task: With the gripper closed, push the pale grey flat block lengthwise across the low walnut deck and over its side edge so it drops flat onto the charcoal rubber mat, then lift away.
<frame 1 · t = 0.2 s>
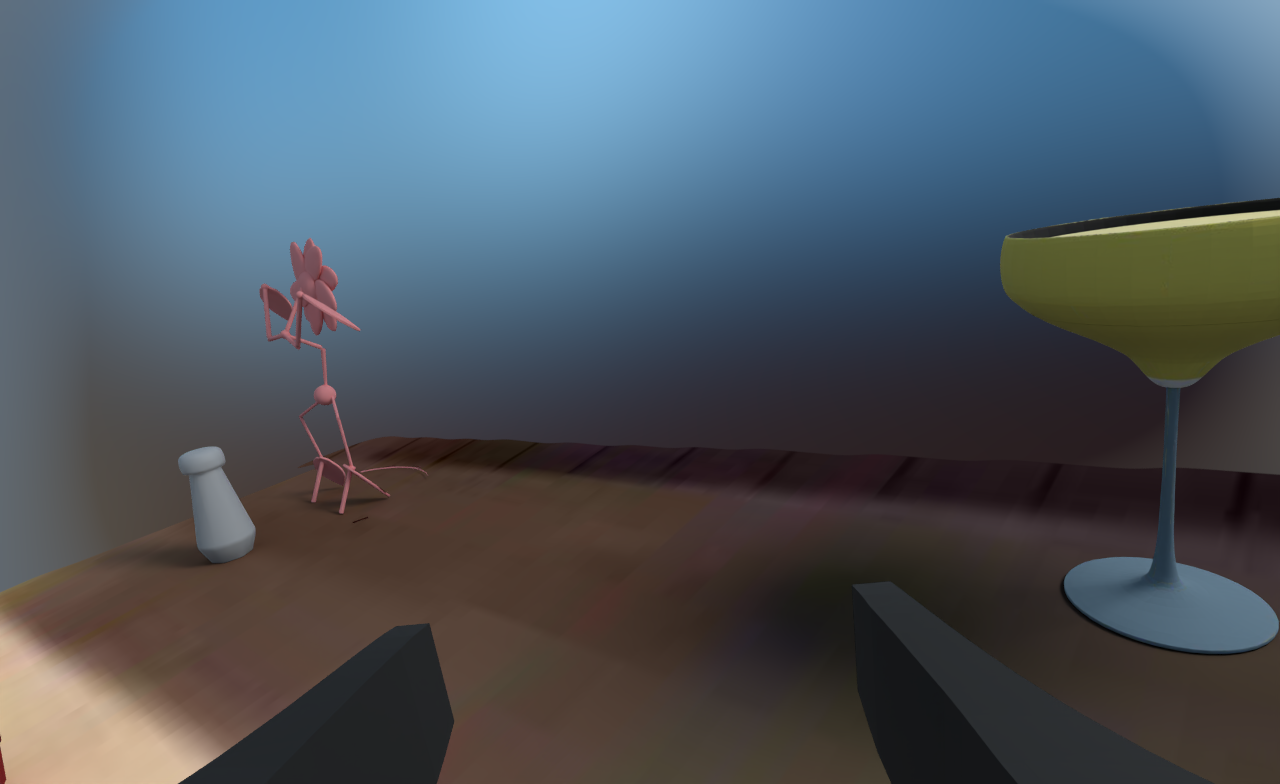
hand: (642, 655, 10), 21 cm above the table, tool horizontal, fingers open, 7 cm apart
cocktail glass: (1162, 604, 41), on the table
salt shaker: (233, 556, 72), on the table
figurine: (375, 490, 88), on the table
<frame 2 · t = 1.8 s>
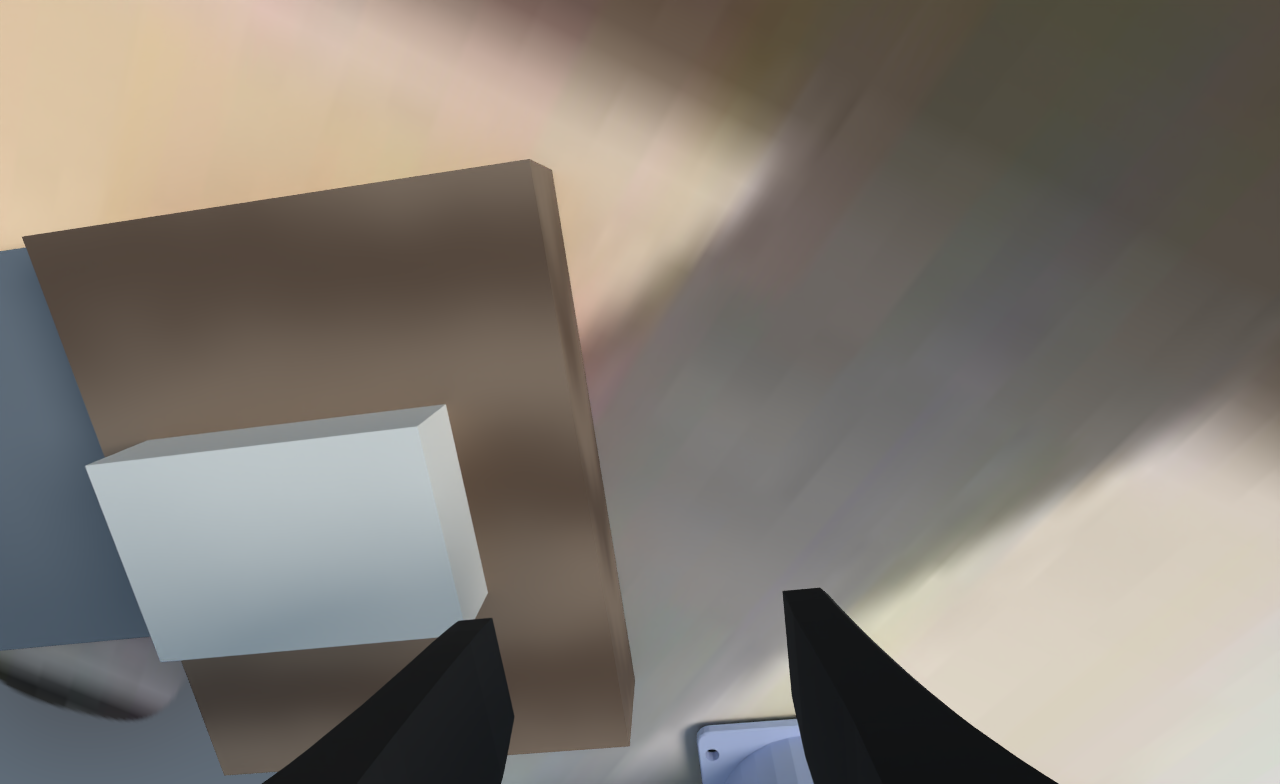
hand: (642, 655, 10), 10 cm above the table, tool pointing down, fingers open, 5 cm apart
deck: (396, 475, 21), on the table
mat: (4, 465, 22), on the table
pale grey flat block: (321, 518, 18), point 3 cm above the table, touching deck
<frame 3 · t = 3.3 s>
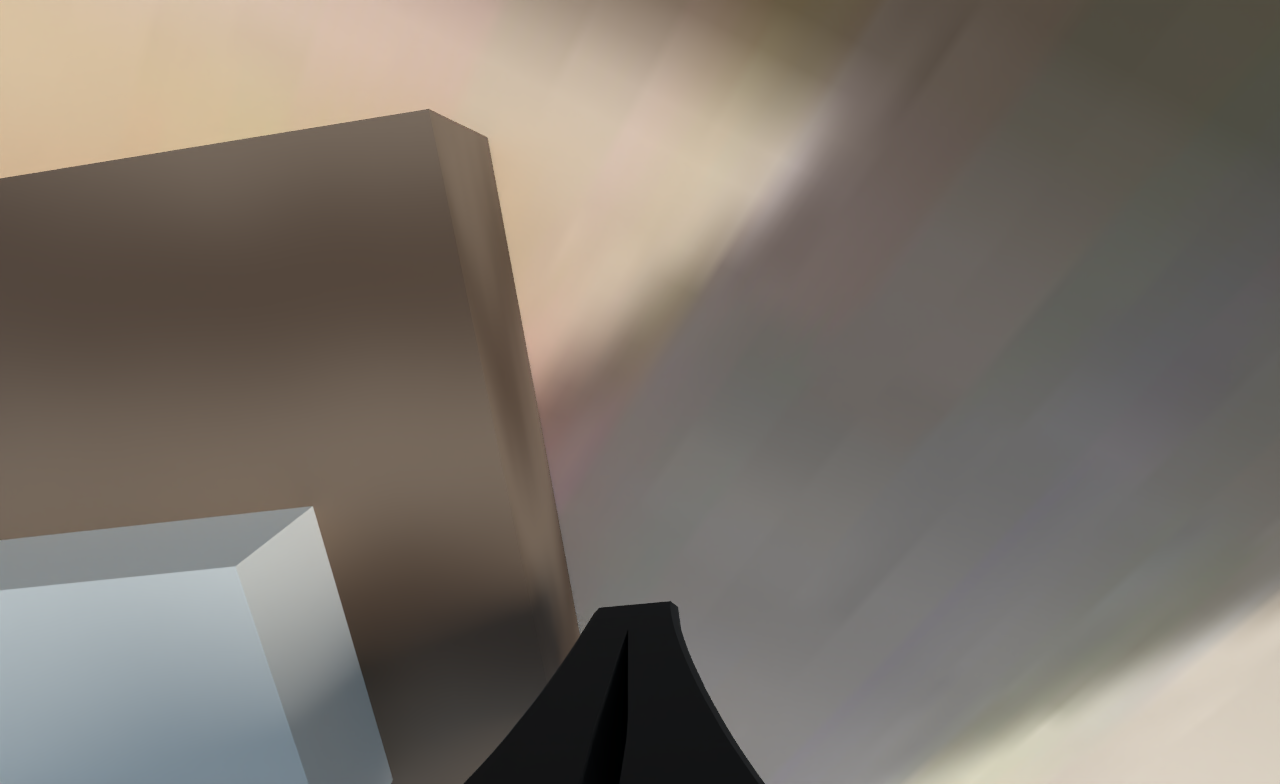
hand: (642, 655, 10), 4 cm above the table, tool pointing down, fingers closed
deck: (278, 580, 15), on the table
pale grey flat block: (134, 671, 12), point 3 cm above the table, touching deck
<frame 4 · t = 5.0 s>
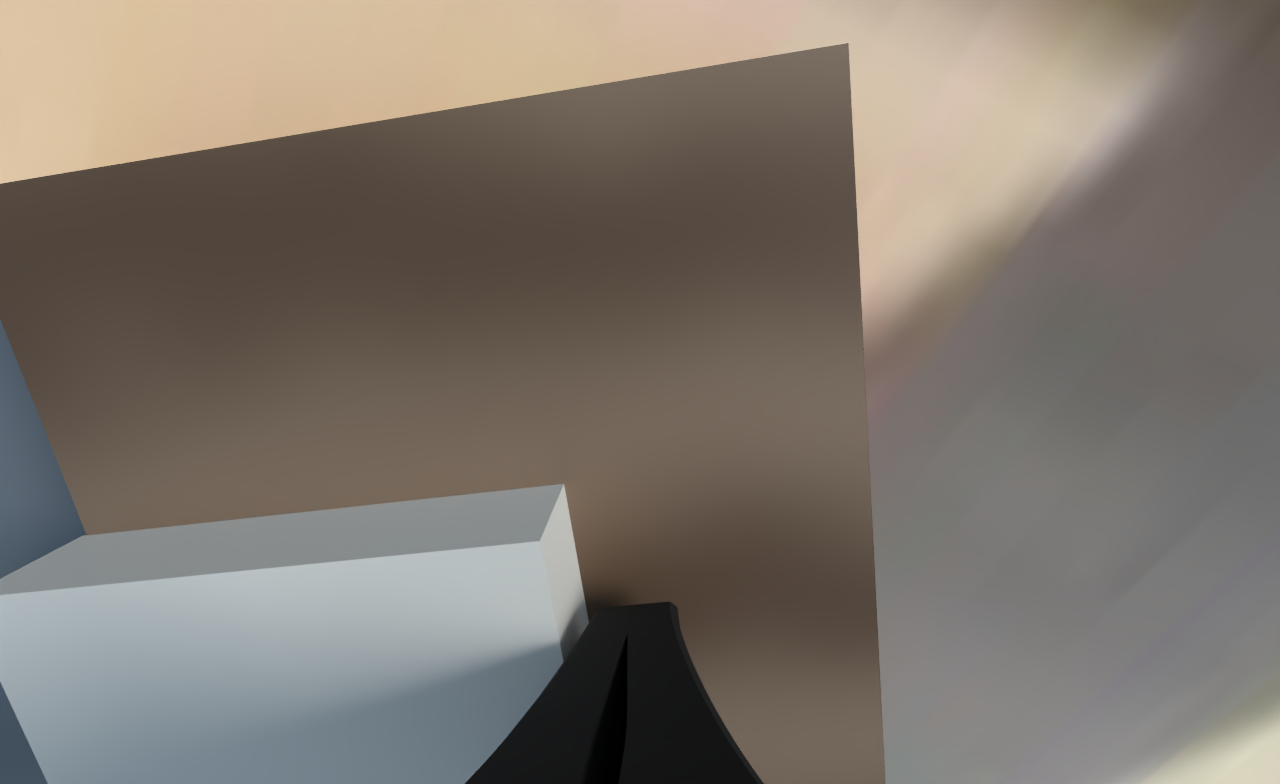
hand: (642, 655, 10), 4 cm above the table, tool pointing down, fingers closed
deck: (527, 557, 14), on the table
pale grey flat block: (357, 655, 12), point 3 cm above the table, touching deck, gripper
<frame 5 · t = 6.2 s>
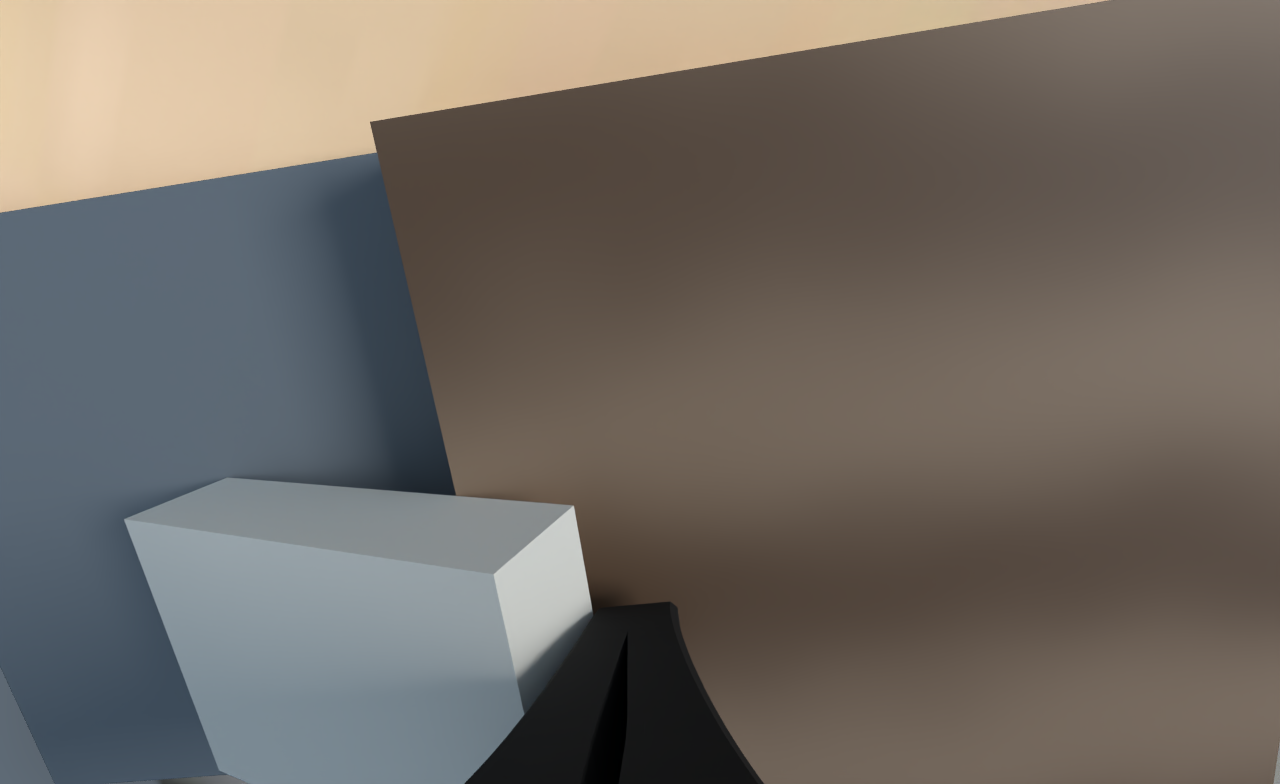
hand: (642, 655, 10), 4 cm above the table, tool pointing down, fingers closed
deck: (832, 526, 14), on the table
mat: (218, 510, 14), on the table
pale grey flat block: (407, 626, 12), point 2 cm above the table, tilted 22°, touching gripper
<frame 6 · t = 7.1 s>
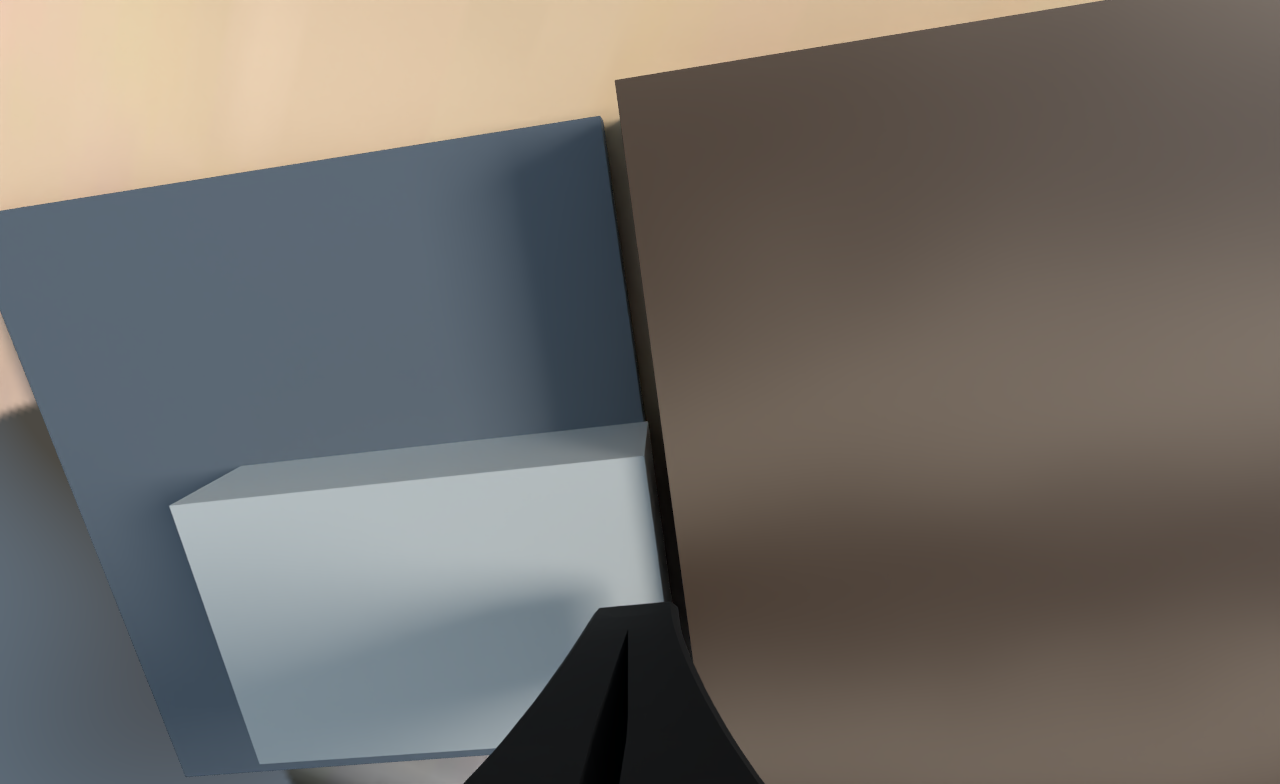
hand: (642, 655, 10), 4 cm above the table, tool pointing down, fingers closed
deck: (1004, 508, 13), on the table
mat: (368, 492, 14), on the table
pale grey flat block: (466, 569, 14), resting on mat
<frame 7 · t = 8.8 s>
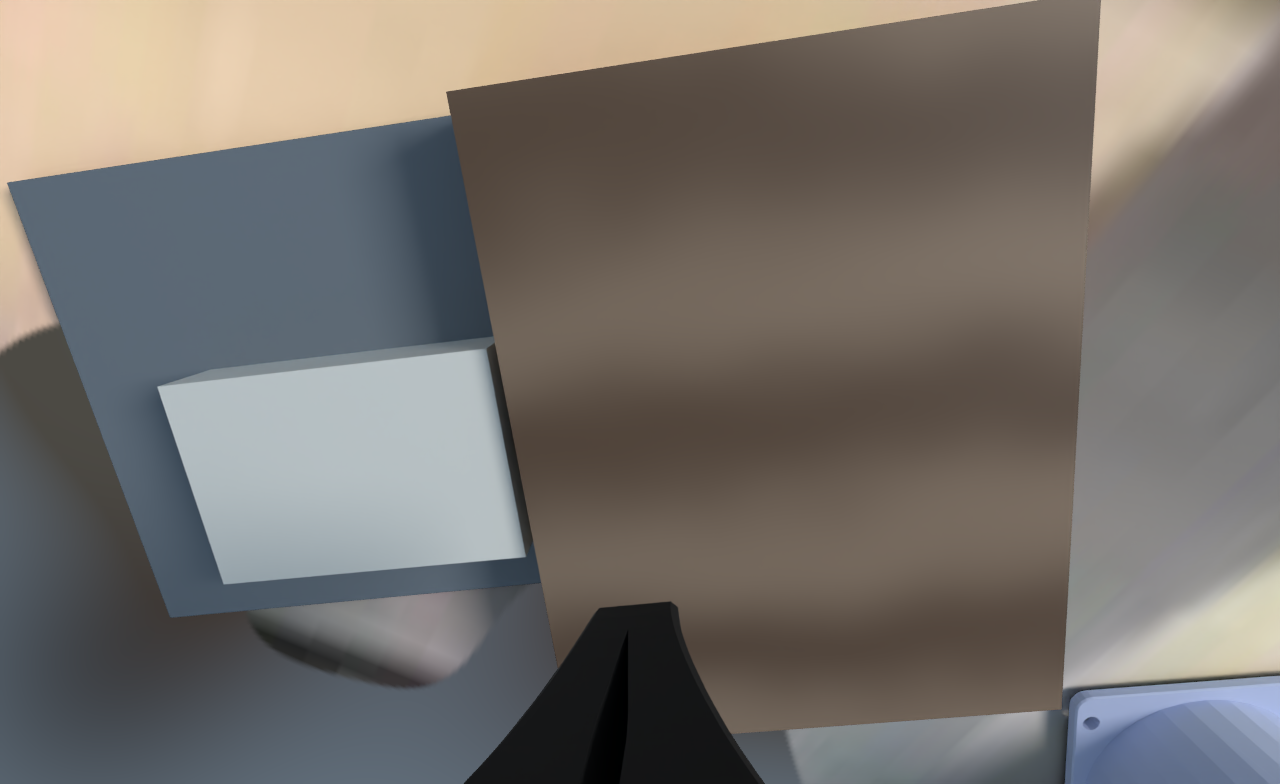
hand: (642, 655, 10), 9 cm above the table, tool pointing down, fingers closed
deck: (770, 402, 18), on the table
mat: (306, 392, 19), on the table
pale grey flat block: (379, 448, 19), resting on mat
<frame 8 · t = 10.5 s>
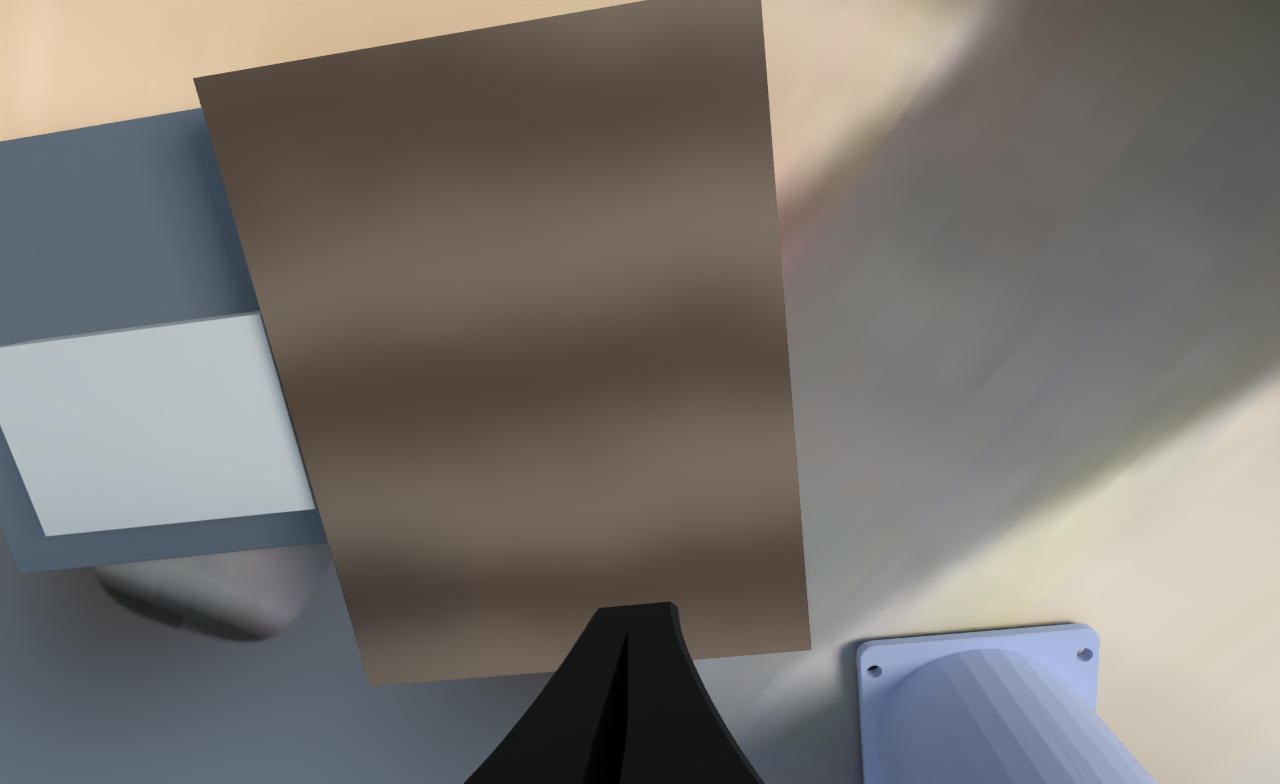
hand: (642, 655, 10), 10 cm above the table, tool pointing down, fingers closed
deck: (552, 368, 20), on the table
mat: (131, 361, 21), on the table
pale grey flat block: (196, 412, 20), resting on mat
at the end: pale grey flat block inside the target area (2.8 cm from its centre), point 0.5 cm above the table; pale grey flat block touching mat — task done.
